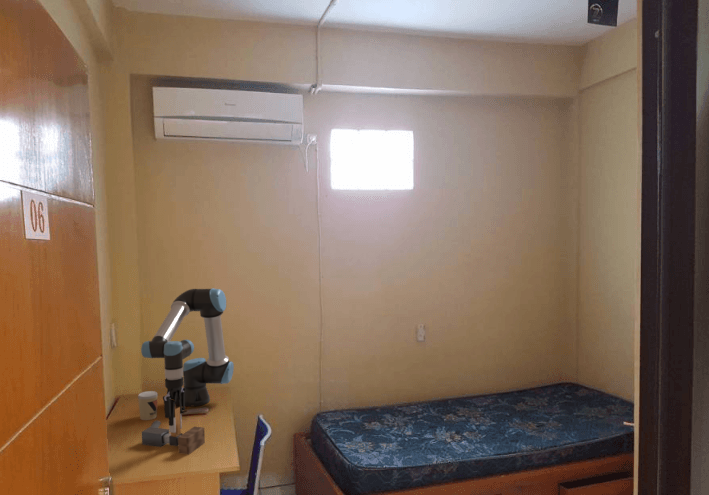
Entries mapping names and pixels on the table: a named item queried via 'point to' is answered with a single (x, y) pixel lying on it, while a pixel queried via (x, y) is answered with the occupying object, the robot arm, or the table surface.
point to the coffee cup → (148, 405)
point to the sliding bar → (173, 437)
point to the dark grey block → (153, 436)
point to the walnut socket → (191, 440)
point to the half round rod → (156, 424)
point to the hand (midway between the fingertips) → (175, 430)
